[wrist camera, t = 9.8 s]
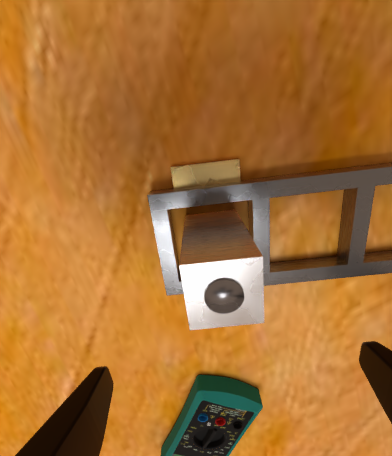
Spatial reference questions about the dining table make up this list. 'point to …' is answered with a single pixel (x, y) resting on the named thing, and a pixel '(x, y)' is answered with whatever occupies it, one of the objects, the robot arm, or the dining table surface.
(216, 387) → the digital multimeter
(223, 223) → the grey tall square block
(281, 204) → the dining table surface
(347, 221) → the rail frame
